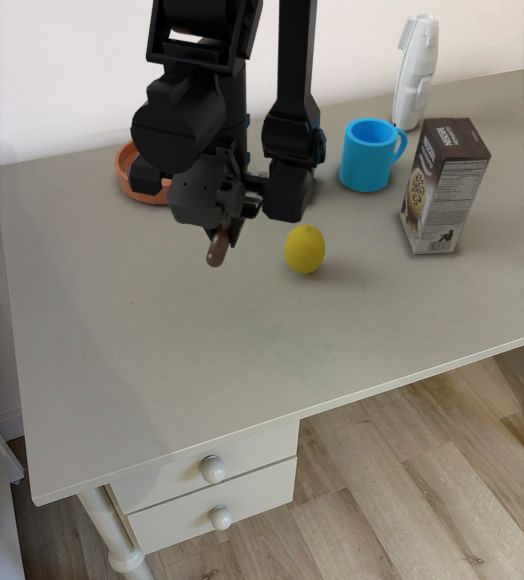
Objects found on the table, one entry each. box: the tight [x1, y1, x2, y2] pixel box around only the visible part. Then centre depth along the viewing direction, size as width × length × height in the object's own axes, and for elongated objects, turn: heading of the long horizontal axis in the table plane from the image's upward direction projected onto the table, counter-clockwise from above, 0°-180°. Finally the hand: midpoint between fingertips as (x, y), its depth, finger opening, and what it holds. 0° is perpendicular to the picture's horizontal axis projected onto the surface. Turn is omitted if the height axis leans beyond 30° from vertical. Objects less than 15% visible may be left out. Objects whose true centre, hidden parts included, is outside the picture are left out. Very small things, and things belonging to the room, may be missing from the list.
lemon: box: [283, 224, 326, 275], centre depth 72 cm, size 6×6×8 cm
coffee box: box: [399, 117, 493, 255], centre depth 74 cm, size 9×6×16 cm
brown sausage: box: [205, 217, 230, 268], centre depth 61 cm, size 8×2×2 cm
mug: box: [338, 117, 408, 193], centre depth 86 cm, size 12×8×8 cm
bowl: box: [113, 139, 171, 205], centre depth 87 cm, size 15×15×4 cm
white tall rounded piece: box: [391, 11, 440, 132], centre depth 92 cm, size 7×18×7 cm
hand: (224, 243), depth 62 cm, fingers closed on brown sausage, 2 cm apart
